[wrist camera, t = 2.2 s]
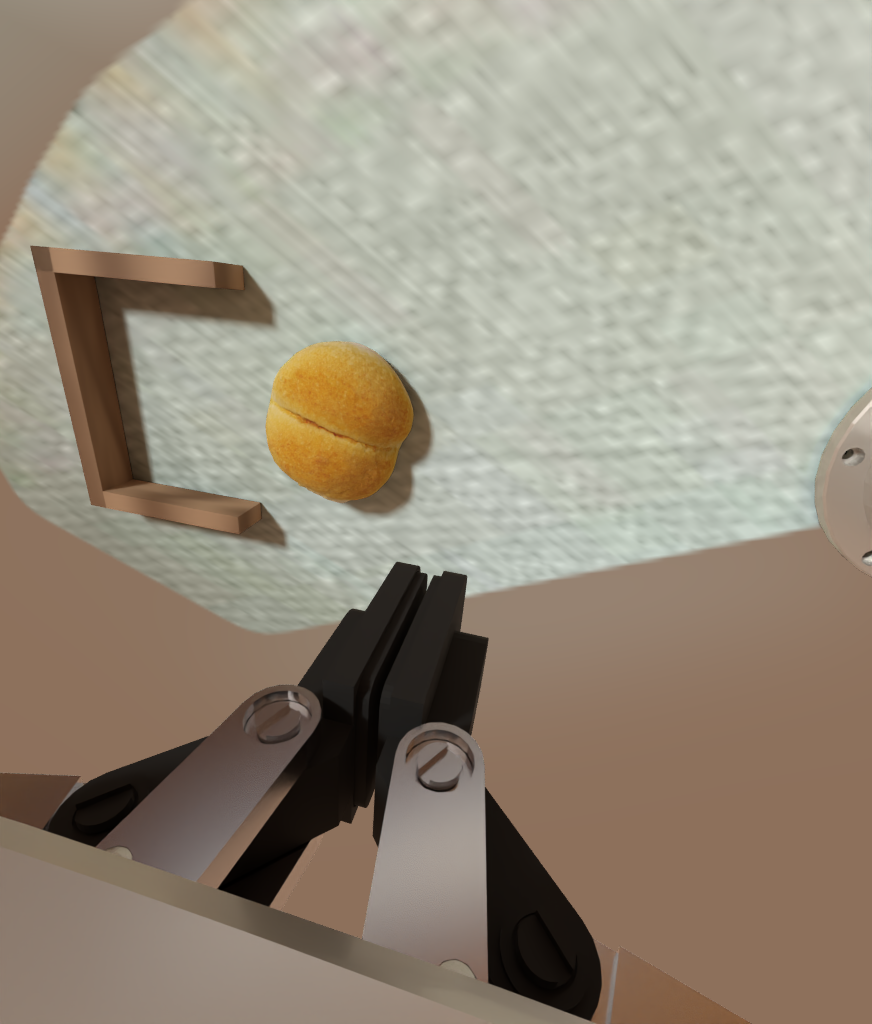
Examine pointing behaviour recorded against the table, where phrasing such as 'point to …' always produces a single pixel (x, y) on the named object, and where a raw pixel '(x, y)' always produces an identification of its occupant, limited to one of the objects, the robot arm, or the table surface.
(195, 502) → the frame
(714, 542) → the table surface
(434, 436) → the table surface
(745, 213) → the table surface
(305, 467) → the bread roll
